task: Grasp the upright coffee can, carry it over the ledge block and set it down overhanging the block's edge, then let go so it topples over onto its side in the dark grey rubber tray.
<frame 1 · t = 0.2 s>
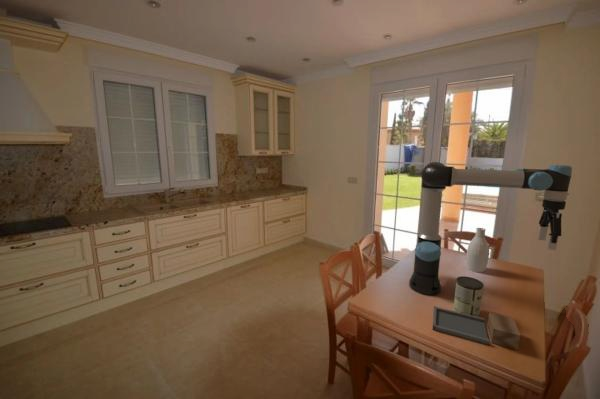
hand: (546, 244, 124), 28 cm above the table, fingers open, 13 cm apart
ledge block: (501, 337, 104), on the table
bottle: (475, 269, 161), on the table
tray mat: (458, 325, 111), on the table
coffee can: (466, 310, 121), on the table
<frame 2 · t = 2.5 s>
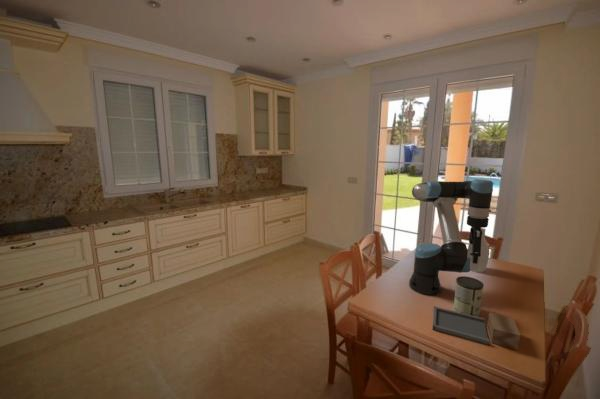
hand: (472, 263, 117), 23 cm above the table, fingers open, 13 cm apart
nothing on the table moved.
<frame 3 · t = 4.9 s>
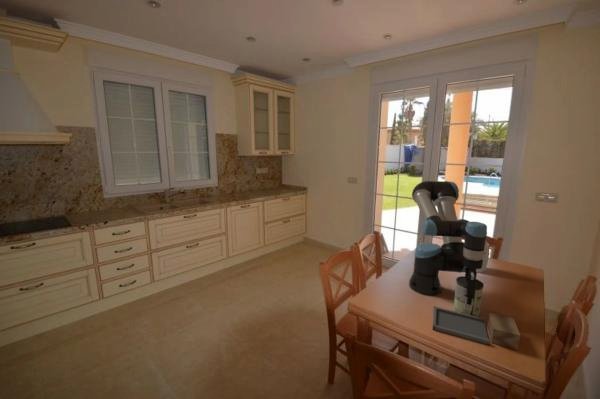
hand: (466, 303, 121), 3 cm above the table, fingers closed on coffee can, 10 cm apart
coffee can: (466, 310, 121), on the table, touching gripper
everything else where it was.
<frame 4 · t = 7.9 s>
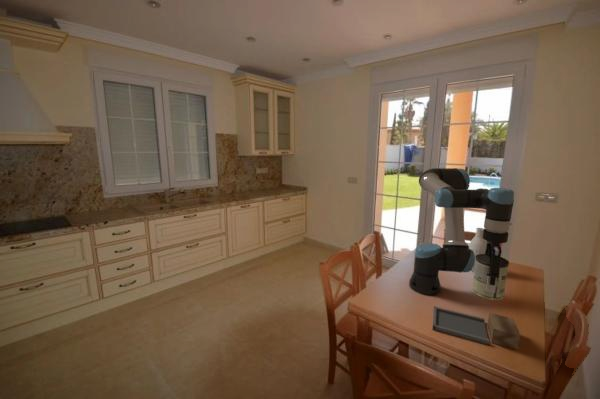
hand: (488, 285, 103), 20 cm above the table, fingers closed on coffee can, 10 cm apart
coffee can: (487, 293, 104), point 17 cm above the table, touching gripper
everything else where it was.
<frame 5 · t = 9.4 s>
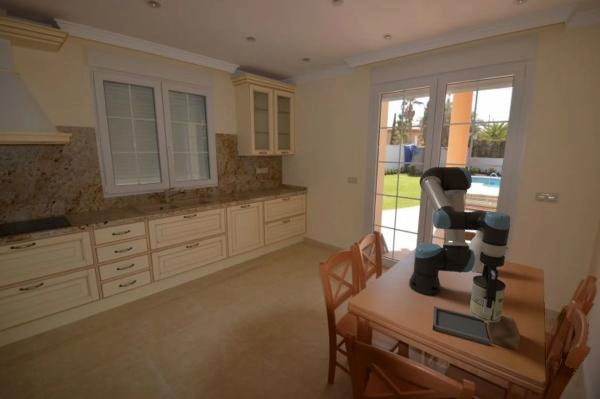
hand: (485, 306, 105), 11 cm above the table, fingers closed on coffee can, 10 cm apart
coffee can: (484, 314, 105), point 8 cm above the table, touching gripper
everything else where it was.
when the fingers open (10 cm above the table, at t = 10.6 s): coffee can drops 1 cm, resting on tray mat.
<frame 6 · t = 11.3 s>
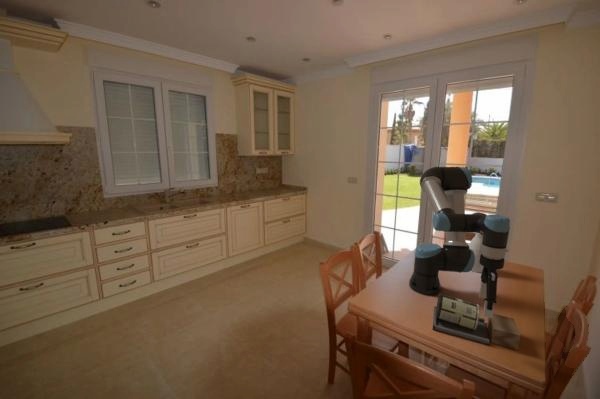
hand: (485, 306, 105), 11 cm above the table, fingers open, 13 cm apart
coffee can: (476, 317, 107), point 6 cm above the table, touching tray mat
everything else where it was.
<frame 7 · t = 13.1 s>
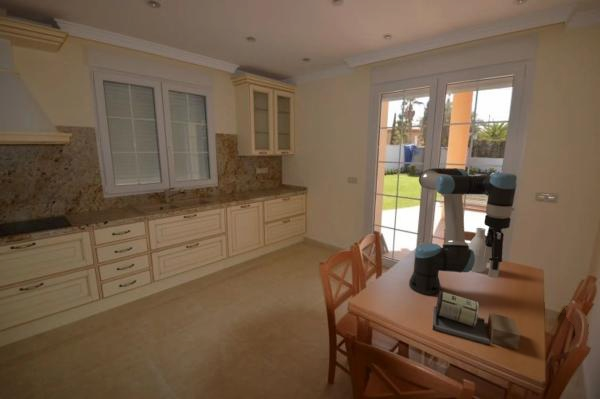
hand: (490, 269, 102), 27 cm above the table, fingers open, 13 cm apart
coffee can: (476, 314, 109), point 6 cm above the table, touching tray mat
everything else where it was.
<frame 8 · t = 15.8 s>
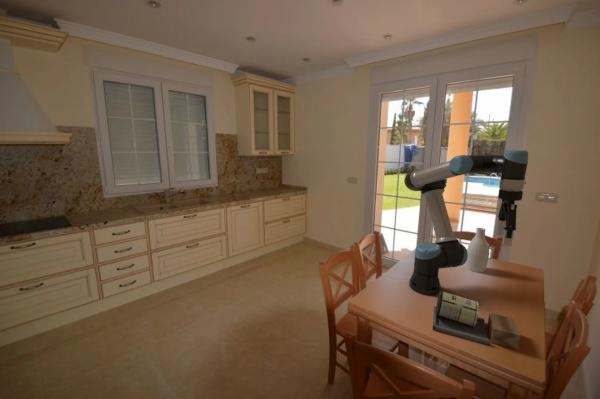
hand: (503, 240, 111), 35 cm above the table, fingers open, 13 cm apart
nothing on the table moved.
at the end: coffee can tilted 84°; coffee can inside the target area (5.9 cm from its centre), point 5.6 cm above the table; the gripper is holding nothing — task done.
